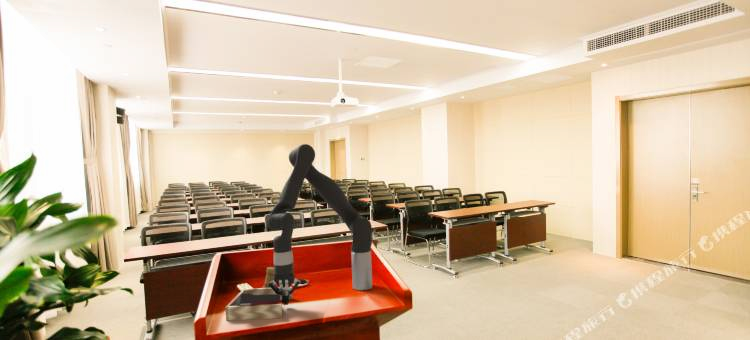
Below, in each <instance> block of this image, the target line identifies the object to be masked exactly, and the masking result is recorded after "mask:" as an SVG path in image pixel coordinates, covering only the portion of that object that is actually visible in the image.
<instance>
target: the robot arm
mask: <svg viewBox="0 0 750 340" xmlns="http://www.w3.org/2000/svg"><path fill="white" fill-rule="evenodd" d="M315 158H316V152H315V149H314V148H313V147H312V146H311V145H309V143H308V144H307V143H303V144H300V145H298V146H297V147H295V148H294V149H293V150H291V151H290V152H289V154H288V160H289V163H290V164H291V166H292V167H293V168H292V171H291V174H290V175H289V177H288V179H287V180H286V182H285V183H284V186H283V188H282V191H281V193H280V197H279V199H278V201H277V203H276V204H275V206H274V207H273V209H272V210H271V212H270V213H269V216H268V217H267V225H268V228H269V229H271V230H273V231H281V235H277V236H275V237H274V238H273V240H272V241H273V267H274V273H275V276H274V280H273V281H271V282H270V283H269V286H270V287H271V288H272V289H273V290H274V292H275V293H276V294H280V295H281V296H282V300H281V304H283V305H284V306H287V305H289V303H290V300H291V299H290V296H289V295H290V294H292V295H293V294H294V292H295V291H296V289H297V287H298V286H299V285H300V284H299V283H300V280H297V279H298V278H297V277H296V275H295V273H294V255H293V250H292V248H293V247H292V237H293V233H294V228H295V218H294V216H293V214H292V213H290V211H292V210H294V209H295V208H296V205H297V202H298V199H299V196H300V193H301V190H302V187H303V184H304V181H305V180H306V181H308V183H309V184H310V185H311V186H312V188H314V190H315V191H316V192H317V194H318V195H319V196H320V197H321V199H323V200H324V202H325V203H327V205H328V206H329V207H330V208H331V209H332V210H333V211H334V212H335V213H336V214H337V215H338V216H339V217H340V218H341V219H342V221H343V222H344V224H345V225H346V227H347V228H348V230H349V231H350V233H351V234H352V244H351V245H350V252H351V253H350V254H351V257H350V258H351V274H352V275H351V277H352V289H354V290H355V291H356V290H357V291H368V290H372V289H373V271H372V269H373V268H372V266H373V265H372V245H373V231H372V230H373V229H372V228H373V227H372V223H371V220H369V219H368V218H366V217H364V216H362V215H361V214H360V213H359V212H358V211H357V210H356V209H355V207H353V206H352V205H351V203H350V201H349V200H348V199H349V198H348V196H346V194H345V192H344V190H343V189H342V188H341V187H340V186H339V184H338V183H337V182H336V181H335V180H334V179H332V177H330V176H328V175H326V174H324V173H322V172H321V171H319V170H318V169H317V168H316V167H315V166H314V165H313V162H315ZM296 278H297V279H296ZM293 281H294V284H293V287H292V289H291V290H290V287H291V285H292V282H293ZM278 287H280V289H279V288H278Z"/></svg>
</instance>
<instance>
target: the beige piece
mask: <svg viewBox="0 0 750 340" xmlns="http://www.w3.org/2000/svg"><path fill="white" fill-rule="evenodd" d="M277 287H278V288H279V289H280V287H279V286H277ZM292 288H293V287H292V286H290V290H291V289H292ZM249 293H251V294H253V295H268V294H276V293H275V292H274V290H273V289H272V288H263V287H260V288H258V287H256V288H242V289H241V291H240V292H239V293H238V294H236V296H235V297H234V298H233V299H232V300H231V301H230V302H229V303H228V304H227V305H226V306H225V307H224V308H225V320H226V321H238V320H239V321H241V320H242V321H243V320H245V321H246V320H265V319H267V320H268V319H282V318H283V309H282V304H283V303H279V304H268V305H244V306H237V298H238V296H239V295H240V294H249ZM289 296H290V300H292V299H293V293H292V294H290V295H289ZM280 301H282V296H281V295H280Z"/></svg>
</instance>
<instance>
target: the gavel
mask: <svg viewBox="0 0 750 340" xmlns="http://www.w3.org/2000/svg"><path fill="white" fill-rule="evenodd" d="M274 276H275V273H274V266H273V267H272V266H269V267H268V266H267V268H266V275H265V280H264V284H263V286H262V288H271V287H270V286H269V283H270V282H271V281H273V280H274ZM295 278H296V279H297V280H300V283H299V285H307V284H310V281H309V280H306V279H304V278H297V277H295ZM292 284H293V285H294V281H293V282H292ZM292 284H291V285H292Z"/></svg>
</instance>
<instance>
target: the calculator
mask: <svg viewBox="0 0 750 340" xmlns="http://www.w3.org/2000/svg"><path fill="white" fill-rule="evenodd" d="M280 302H281V300H280V294H268V295H253V294H251V293H249V294H240V295H239V296H238V298H237V306H244V305H268V304H280Z"/></svg>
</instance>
